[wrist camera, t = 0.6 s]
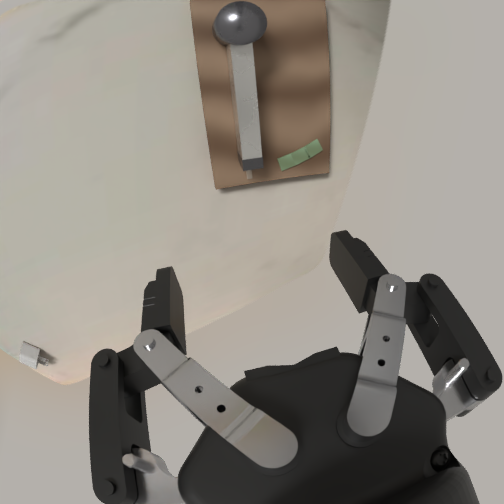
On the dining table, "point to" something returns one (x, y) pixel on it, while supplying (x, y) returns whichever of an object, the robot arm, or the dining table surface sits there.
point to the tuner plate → (269, 91)
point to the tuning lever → (243, 74)
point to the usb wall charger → (31, 356)
